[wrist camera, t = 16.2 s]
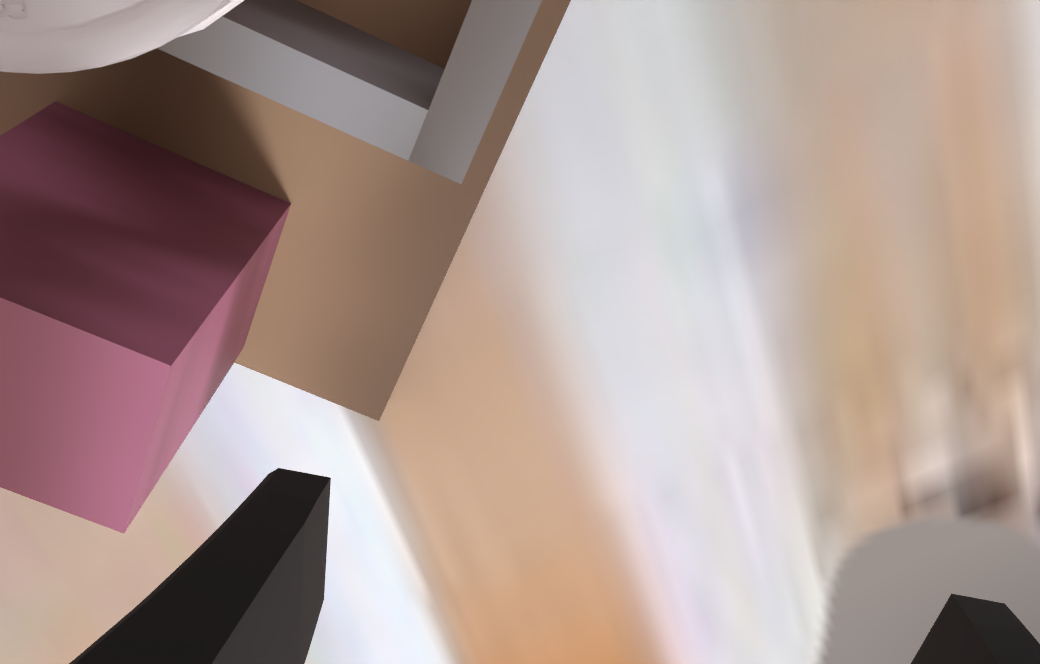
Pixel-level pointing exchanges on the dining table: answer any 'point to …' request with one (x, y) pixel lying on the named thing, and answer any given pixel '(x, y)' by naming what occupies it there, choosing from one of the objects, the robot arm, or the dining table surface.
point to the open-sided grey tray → (237, 222)
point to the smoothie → (94, 30)
